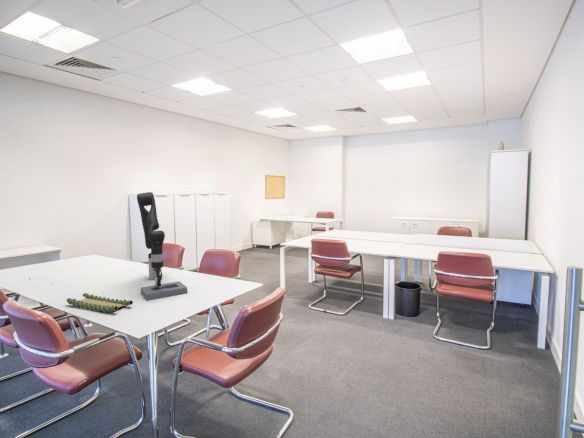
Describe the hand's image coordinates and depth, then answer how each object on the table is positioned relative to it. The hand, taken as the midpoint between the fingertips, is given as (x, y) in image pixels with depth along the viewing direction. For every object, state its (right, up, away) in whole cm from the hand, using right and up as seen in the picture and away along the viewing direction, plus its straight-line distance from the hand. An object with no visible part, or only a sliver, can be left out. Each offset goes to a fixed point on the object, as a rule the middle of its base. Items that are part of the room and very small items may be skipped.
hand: (158, 285), depth 220 cm
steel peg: (0, -6, +1) cm, 6 cm away
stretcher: (-26, -9, -22) cm, 36 cm away
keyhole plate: (+3, -6, +3) cm, 7 cm away
